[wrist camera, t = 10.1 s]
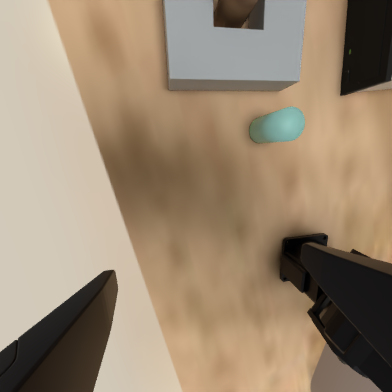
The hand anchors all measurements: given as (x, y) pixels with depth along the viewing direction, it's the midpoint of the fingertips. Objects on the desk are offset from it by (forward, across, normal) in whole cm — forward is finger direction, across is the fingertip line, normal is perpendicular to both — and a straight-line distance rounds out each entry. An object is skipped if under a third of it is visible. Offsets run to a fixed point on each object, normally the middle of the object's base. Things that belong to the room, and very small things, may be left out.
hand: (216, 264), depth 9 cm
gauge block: (+13, -5, -17) cm, 22 cm away
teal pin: (+13, -9, -7) cm, 17 cm away
